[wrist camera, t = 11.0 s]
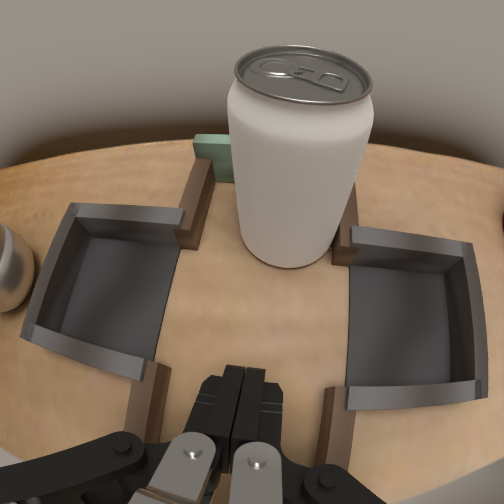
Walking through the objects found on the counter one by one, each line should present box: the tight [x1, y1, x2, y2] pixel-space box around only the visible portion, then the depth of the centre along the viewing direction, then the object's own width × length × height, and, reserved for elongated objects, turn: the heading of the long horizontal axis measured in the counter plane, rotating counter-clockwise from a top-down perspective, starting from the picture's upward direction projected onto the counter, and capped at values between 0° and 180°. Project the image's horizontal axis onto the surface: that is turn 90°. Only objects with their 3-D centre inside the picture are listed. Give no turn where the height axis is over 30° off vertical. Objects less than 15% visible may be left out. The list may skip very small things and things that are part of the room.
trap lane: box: [20, 134, 488, 472], centre depth 16 cm, size 29×22×4 cm
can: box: [227, 45, 374, 268], centre depth 15 cm, size 6×6×12 cm
